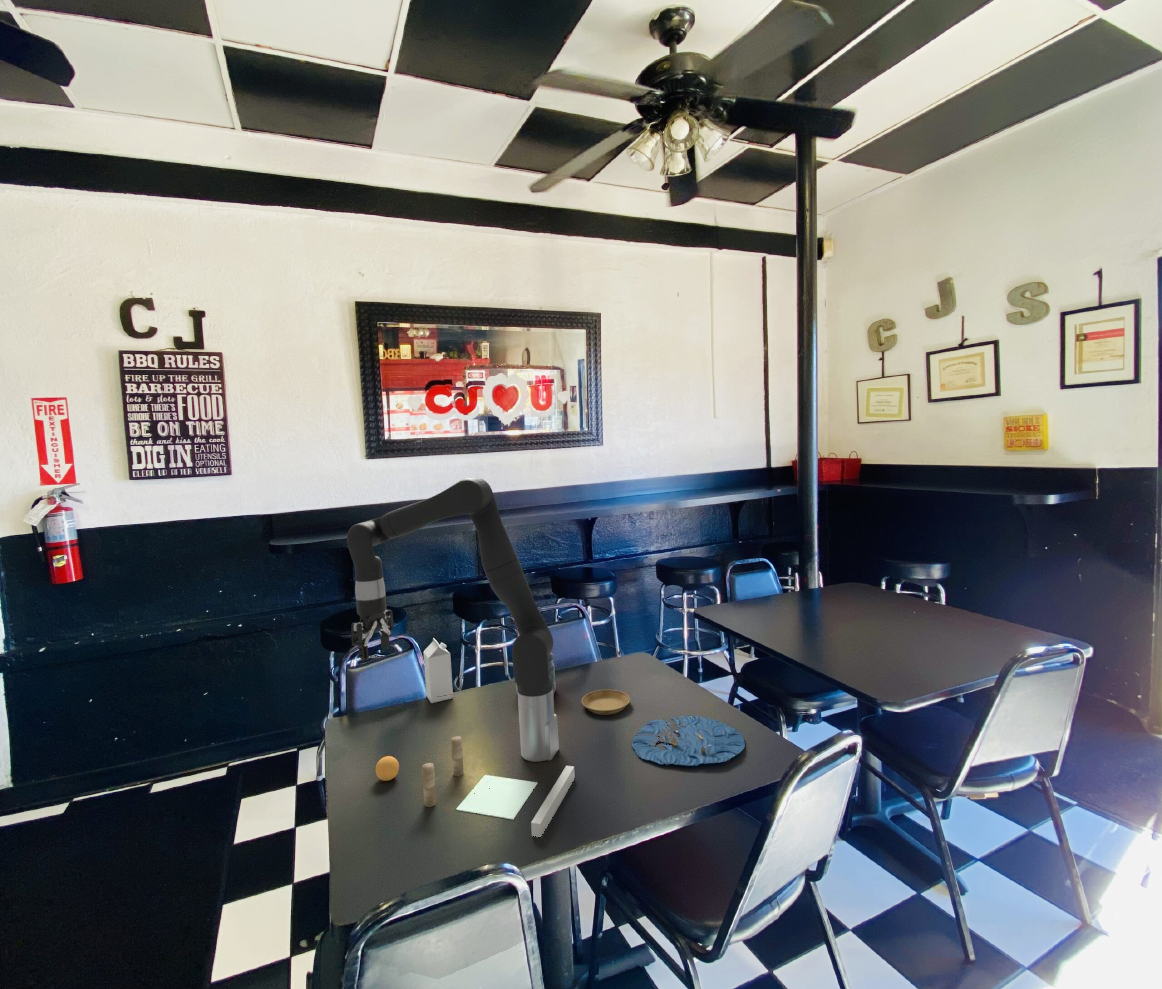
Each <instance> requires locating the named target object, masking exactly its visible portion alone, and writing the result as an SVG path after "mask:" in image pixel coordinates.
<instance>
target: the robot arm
mask: <svg viewBox="0 0 1162 989" xmlns="http://www.w3.org/2000/svg"><path fill="white" fill-rule="evenodd" d="M492 489H493V488H492V487H491V486H490V484H489V483H488V482H487V481H486V480H484V479H483V478H480V477H476V476H475V477H469V478H463V479H461V480H459V481H458V482H456V483H454V484H452V485H451V486H449V487H448V488H446V489H444V490H442V491H441V492H439V493H437V494H435V495H434V496H431V497H428V498H426V499H424V500H420V501H417V502H414V503H411V504H408V505H405V506H402V507H400V508H397V509H395V510H391V511H388V512H386V513H385V514H384V515H381V516H379V517H376V518H374V519H369V520H366V521H363V522H359V523H356V524H354V525H352V526H351V527H350V528H349V530H348V531H347V535H346V545H347V547H348V548H347V549H348V551H349V554H350V556H351V560H352V562H353V564H354V576H355V577H354V578H355V585H354V586H355V589H354V591H355V592H354V593H355V602H356V603H355V604H356V613H357V615H358V616H359V618H360V619H359V622H352V623H351V624H350V626H351V627H350V629H351V630H350V631H351V646H354V647H358V654H359V655H358V656H359V659H360V660H362V661H367V660H369V645H368V644H369V641H370V639H371V638H372V637H373V635H374V634H375V633H376V632H379V634H380V646H381V648H380V649H382V650H388V649H390V643H391V642H390V634H391V632H394V630H395V623H394V612H393V610H391V609H387V597H386V585H385V581H384V580H385V579H384V570H383V569H384V568H383V561H382V559H381V558H380V557H379V556H377V555H376V554H375V550H374V547H376V546H378V545H380V544H383V543H385V542H388V541H390V540H392V539H397V538H400V537H402V536H405V535H408V534H411V533H413V532H416V531H418V530H420V529H422V528H424V527H427V526H429V525H431V524H433V523H435V522H438V521H440V520H444V519H448V518H453V517H458V516H464V515H469V517H470V518H471V521H472V523H473V526H474V527H475V530H476V533H477V537H478V542H479V544H478V546H479V554H480V561H481V566H482V568H483V571H484V573H485V577H486V578H487V581H488V584H489V585H490V586H489V587H490V589H491V590H492V591H493V593H494V594H495V595H496V596H497V598H498V599H499V600H500V602H501V603H502V604H503V605H504V606H505V607H506V609H507V610H508V611H509V613H510V614H511V616H512V618H513V621H514V623H515V627H516V629H517V632H518V636H517V637H516V638H515V640H514V641H513V644H512V649H511V652H512V653H511V654H512V655H511V656H512V658H511V659H512V668H513V677H514V683H515V684H516V686H517V690H518V695H517V705H518V723H519V724H518V726H519V738H520V739H519V740H520V755H521V757H522V758H523V759H524V760H525V761H528V762H533V763H534V762H535V763H536V762H543V761H545V762H546V761H552V760H553V758H554V756H555V755H556V754H557V753H558V751H559V749H560V746H559V745H560V742H559V727H558V725H559V723H558V714H556V713H555V706H554V705H555V700H554V694H553V680H552V677H551V676H550V675H549V670H548V656H549V654H550V652H551V653H552V651H553V648H554V638H553V634H552V633H551V630H550V628H549V626H548V625H547V623H546V621H545V619H544V617H543V616H542V614H541V612H540V610H539V608H538V606H537V604H536V601H535V599H534V596H533V593H532V591H531V588H530V585H529V583H528V581H527V578H526V576H525V572H524V571H523V567H522V565H521V562H520V560H519V558H518V555H517V553H516V551H515V549H514V547H513V544H512V543H511V539H510V538H509V535H508V533H507V531H506V528H505V527H504V523H503V521H502V518H501V516H500V513H499V508H498V505H497V502H496V498H495V496H494V492H493V490H492Z"/></svg>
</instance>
